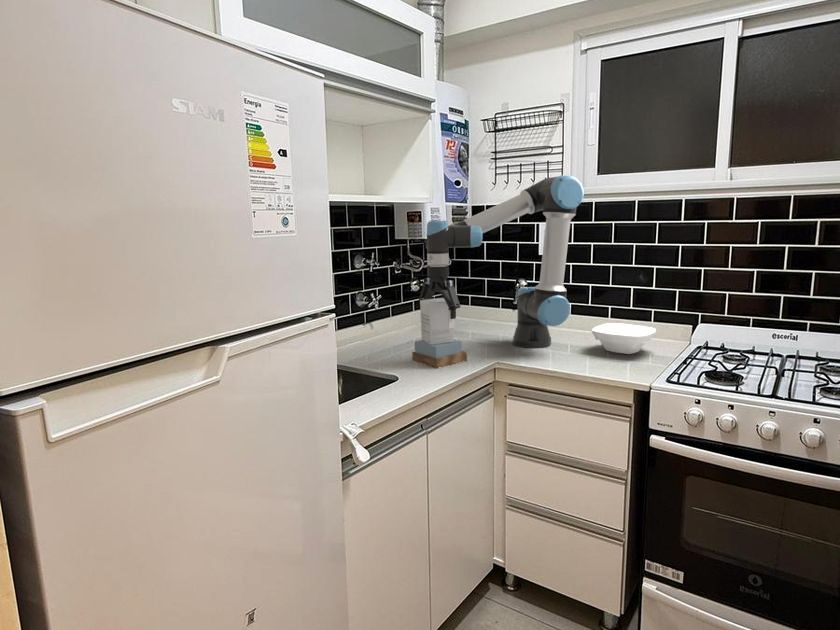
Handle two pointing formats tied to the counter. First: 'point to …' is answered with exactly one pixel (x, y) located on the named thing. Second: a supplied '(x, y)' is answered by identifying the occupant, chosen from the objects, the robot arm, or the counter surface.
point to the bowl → (623, 337)
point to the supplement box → (435, 321)
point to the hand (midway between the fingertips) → (439, 325)
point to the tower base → (439, 359)
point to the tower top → (438, 348)
